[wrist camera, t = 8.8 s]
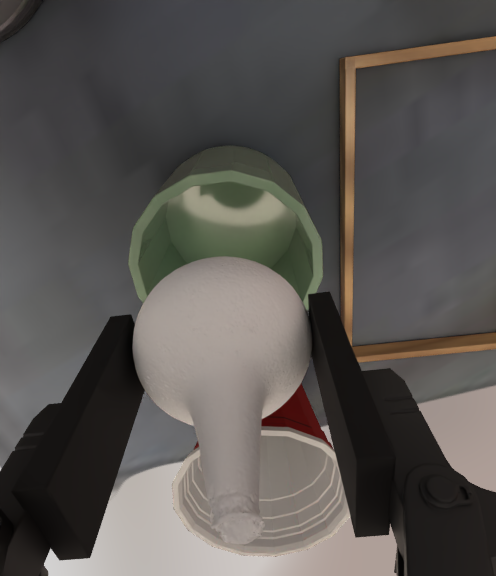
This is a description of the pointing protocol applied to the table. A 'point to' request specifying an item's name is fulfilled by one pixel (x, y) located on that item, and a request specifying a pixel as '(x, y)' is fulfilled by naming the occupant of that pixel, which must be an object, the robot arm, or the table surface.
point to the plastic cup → (277, 486)
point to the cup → (227, 221)
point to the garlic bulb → (224, 371)
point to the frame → (347, 203)
